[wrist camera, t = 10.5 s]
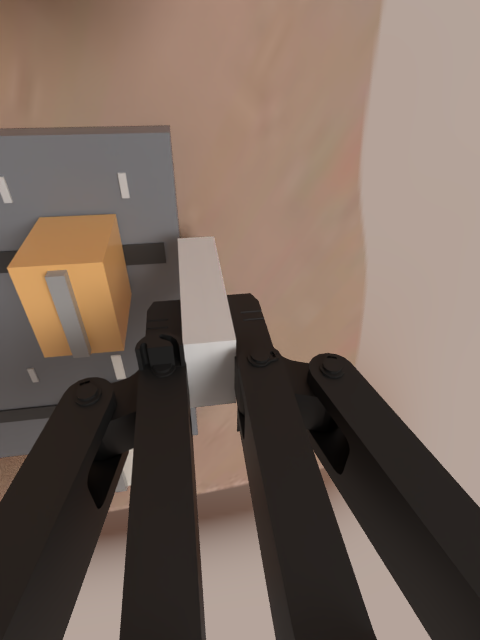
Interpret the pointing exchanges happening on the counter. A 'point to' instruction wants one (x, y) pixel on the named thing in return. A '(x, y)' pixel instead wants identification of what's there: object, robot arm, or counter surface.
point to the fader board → (76, 200)
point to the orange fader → (74, 284)
